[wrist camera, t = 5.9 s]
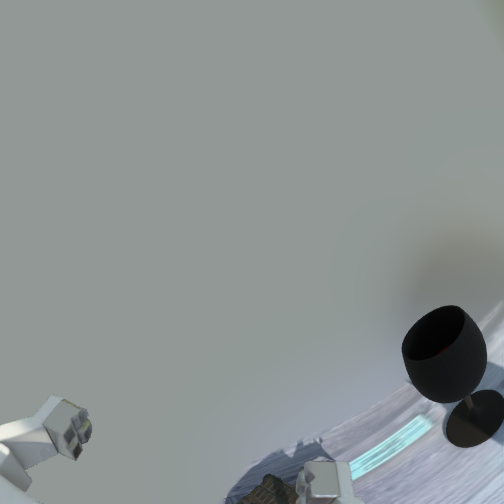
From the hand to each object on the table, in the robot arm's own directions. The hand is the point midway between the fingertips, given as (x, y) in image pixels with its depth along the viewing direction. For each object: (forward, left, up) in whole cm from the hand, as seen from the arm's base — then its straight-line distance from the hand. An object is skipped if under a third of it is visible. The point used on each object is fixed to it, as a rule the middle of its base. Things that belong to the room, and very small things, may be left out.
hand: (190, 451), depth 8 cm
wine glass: (+18, -17, -36) cm, 44 cm away
